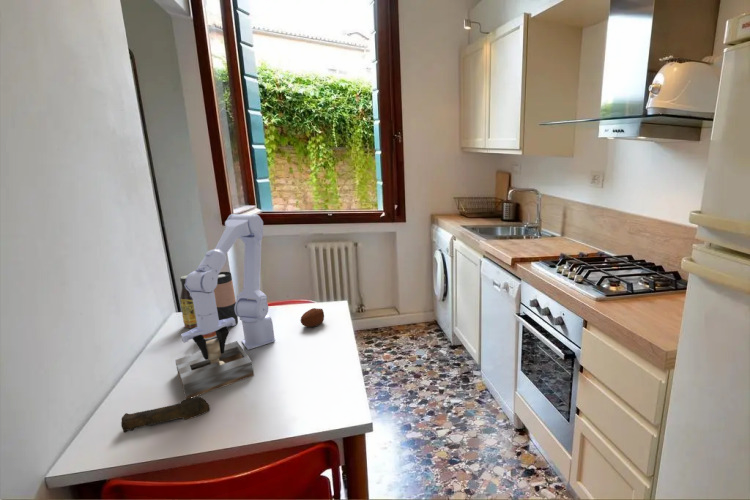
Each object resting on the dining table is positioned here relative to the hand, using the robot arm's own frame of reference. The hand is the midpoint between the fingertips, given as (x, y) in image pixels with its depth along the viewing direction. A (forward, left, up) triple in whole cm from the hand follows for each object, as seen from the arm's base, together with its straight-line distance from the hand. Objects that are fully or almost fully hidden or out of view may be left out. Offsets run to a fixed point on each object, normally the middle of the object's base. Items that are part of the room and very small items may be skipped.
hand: (214, 355), depth 111 cm
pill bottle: (-4, -28, -6) cm, 29 cm away
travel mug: (-12, -34, -6) cm, 36 cm away
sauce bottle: (-1, -42, -6) cm, 43 cm away
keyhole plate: (0, 0, -6) cm, 6 cm away
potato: (-37, -11, -6) cm, 39 cm away
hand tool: (+14, +13, -7) cm, 21 cm away
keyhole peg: (0, 0, -5) cm, 5 cm away
